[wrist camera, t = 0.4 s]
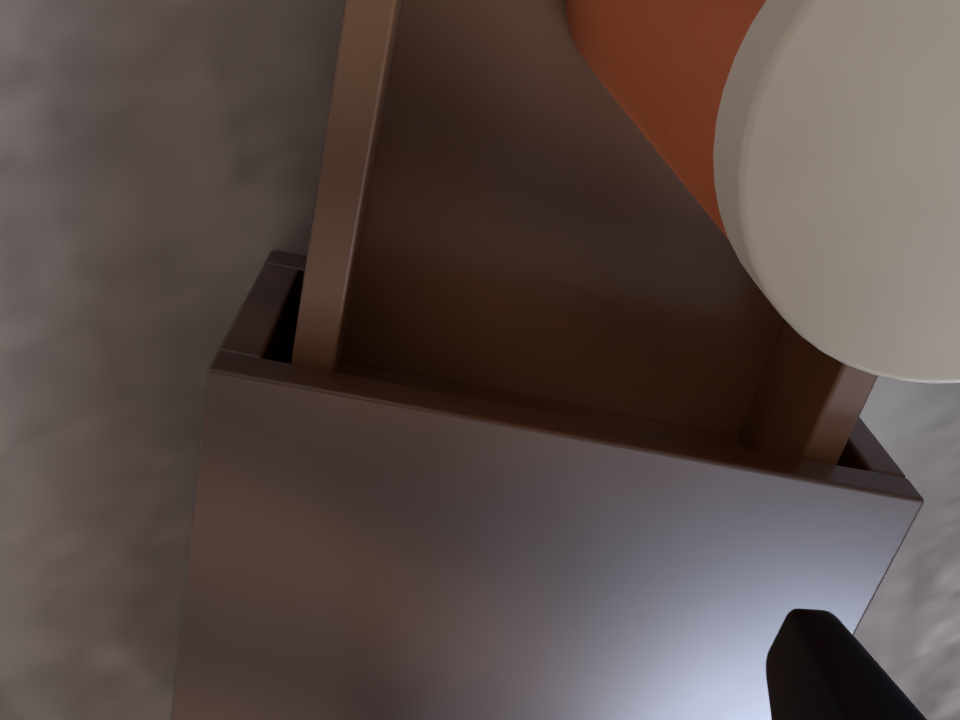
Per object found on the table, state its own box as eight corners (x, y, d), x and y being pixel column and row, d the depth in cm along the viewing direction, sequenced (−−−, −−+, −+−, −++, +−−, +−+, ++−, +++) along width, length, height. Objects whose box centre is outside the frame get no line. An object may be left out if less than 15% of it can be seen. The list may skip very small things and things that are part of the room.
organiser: (270, 249, 21) (206, 368, 16) (815, 358, 23) (927, 500, 17) (209, 721, 28) (149, 918, 23) (633, 779, 30) (673, 977, 24)
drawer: (433, -745, 14) (424, -1002, 10) (1175, -496, 15) (1423, -632, 11) (277, 357, 22) (238, 456, 18) (770, 449, 23) (833, 559, 19)
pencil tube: (741, 101, 18) (1157, 393, 7) (555, 93, 18) (701, 380, 7) (777, -109, 16) (1383, -130, 6) (572, -120, 16) (796, -160, 6)
